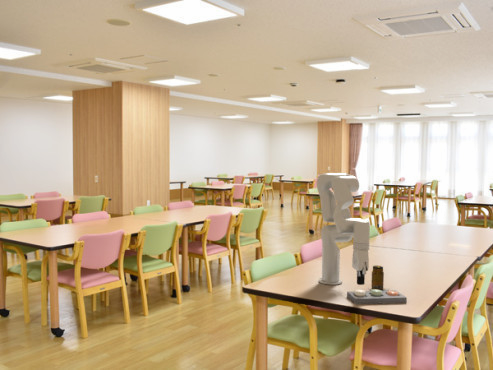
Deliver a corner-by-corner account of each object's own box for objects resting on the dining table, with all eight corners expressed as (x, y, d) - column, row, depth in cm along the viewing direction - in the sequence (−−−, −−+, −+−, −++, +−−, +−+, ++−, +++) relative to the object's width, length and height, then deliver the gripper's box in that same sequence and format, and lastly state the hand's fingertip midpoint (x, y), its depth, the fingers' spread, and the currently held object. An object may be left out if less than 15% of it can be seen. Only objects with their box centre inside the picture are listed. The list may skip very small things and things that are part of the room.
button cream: (352, 294, 223) (353, 289, 222) (362, 294, 223) (363, 289, 223) (356, 297, 218) (356, 292, 217) (366, 297, 218) (366, 292, 218)
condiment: (374, 286, 245) (375, 264, 244) (389, 289, 239) (390, 266, 238) (367, 289, 240) (368, 266, 239) (383, 292, 234) (383, 269, 233)
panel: (346, 296, 226) (347, 291, 226) (395, 295, 229) (395, 290, 229) (355, 304, 214) (355, 298, 214) (406, 302, 217) (406, 297, 217)
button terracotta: (385, 295, 225) (385, 291, 224) (395, 295, 225) (395, 290, 225) (389, 298, 220) (389, 294, 220) (399, 298, 220) (399, 293, 220)
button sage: (369, 294, 224) (369, 289, 223) (379, 293, 224) (379, 289, 224) (373, 297, 219) (373, 292, 218) (383, 296, 219) (383, 292, 219)
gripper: (348, 243, 226) (347, 280, 227) (359, 249, 211) (358, 288, 212) (362, 243, 227) (362, 280, 227) (374, 248, 212) (374, 288, 213)
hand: (360, 284), depth 220 cm, fingers closed
